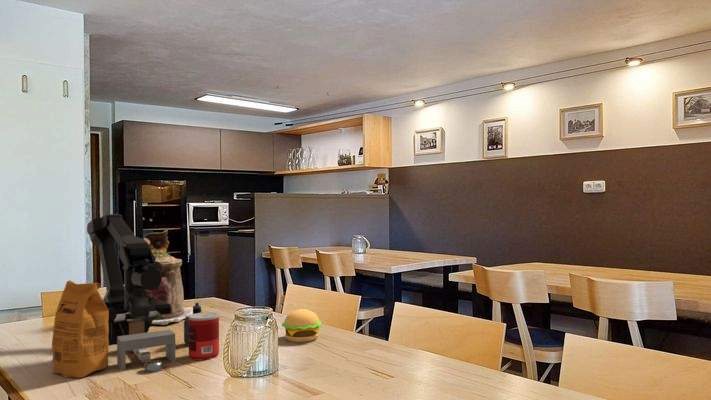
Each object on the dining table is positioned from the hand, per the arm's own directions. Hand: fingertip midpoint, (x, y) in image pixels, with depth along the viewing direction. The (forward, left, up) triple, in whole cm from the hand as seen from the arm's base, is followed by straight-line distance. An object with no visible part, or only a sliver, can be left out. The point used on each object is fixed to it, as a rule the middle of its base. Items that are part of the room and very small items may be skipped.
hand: (135, 341), depth 144 cm
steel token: (+22, 0, -2) cm, 22 cm away
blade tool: (+6, 0, -2) cm, 6 cm away
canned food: (+18, +14, -2) cm, 23 cm away
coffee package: (+13, -15, -2) cm, 20 cm away
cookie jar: (-40, +15, -2) cm, 43 cm away
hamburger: (+17, +44, -2) cm, 47 cm away
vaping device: (+4, +15, -2) cm, 16 cm away
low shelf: (+15, 0, -2) cm, 15 cm away
